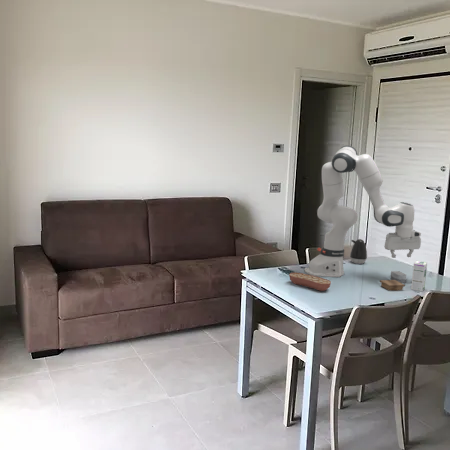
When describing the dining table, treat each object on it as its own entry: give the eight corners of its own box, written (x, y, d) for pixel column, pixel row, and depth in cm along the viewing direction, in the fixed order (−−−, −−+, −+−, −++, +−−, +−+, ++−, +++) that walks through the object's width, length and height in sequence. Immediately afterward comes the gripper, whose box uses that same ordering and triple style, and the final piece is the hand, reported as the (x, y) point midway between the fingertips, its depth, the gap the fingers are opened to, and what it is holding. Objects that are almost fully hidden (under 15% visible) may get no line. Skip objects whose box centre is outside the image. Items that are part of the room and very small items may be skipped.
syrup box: (422, 291, 258) (425, 264, 255) (410, 289, 261) (413, 262, 258) (424, 289, 263) (427, 262, 260) (412, 286, 266) (416, 260, 263)
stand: (388, 291, 256) (389, 285, 255) (379, 285, 264) (379, 280, 264) (404, 290, 258) (404, 284, 258) (394, 285, 267) (394, 279, 266)
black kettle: (348, 260, 317) (350, 236, 315) (364, 261, 317) (367, 238, 314) (350, 264, 307) (352, 240, 305) (367, 265, 307) (370, 241, 304)
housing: (397, 283, 271) (398, 274, 270) (390, 280, 277) (391, 271, 276) (405, 283, 272) (406, 274, 271) (398, 279, 279) (399, 271, 278)
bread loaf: (285, 283, 260) (286, 274, 259) (295, 280, 267) (296, 271, 266) (324, 294, 245) (325, 284, 244) (334, 290, 253) (335, 280, 252)
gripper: (389, 234, 264) (387, 259, 266) (423, 233, 269) (420, 258, 271) (383, 231, 270) (381, 256, 272) (416, 230, 275) (413, 255, 277)
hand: (401, 257), depth 272 cm, fingers open, 8 cm apart
